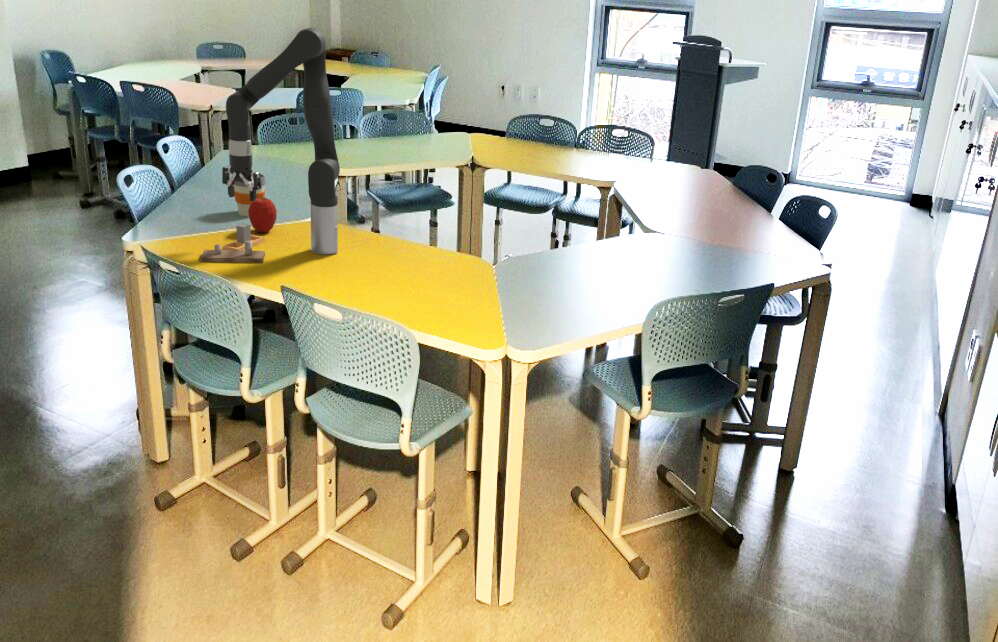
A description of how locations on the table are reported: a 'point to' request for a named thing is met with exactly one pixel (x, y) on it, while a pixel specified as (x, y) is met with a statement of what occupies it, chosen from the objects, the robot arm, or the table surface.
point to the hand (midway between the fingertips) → (242, 198)
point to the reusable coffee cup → (247, 195)
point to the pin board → (233, 255)
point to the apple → (262, 214)
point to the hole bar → (243, 238)
